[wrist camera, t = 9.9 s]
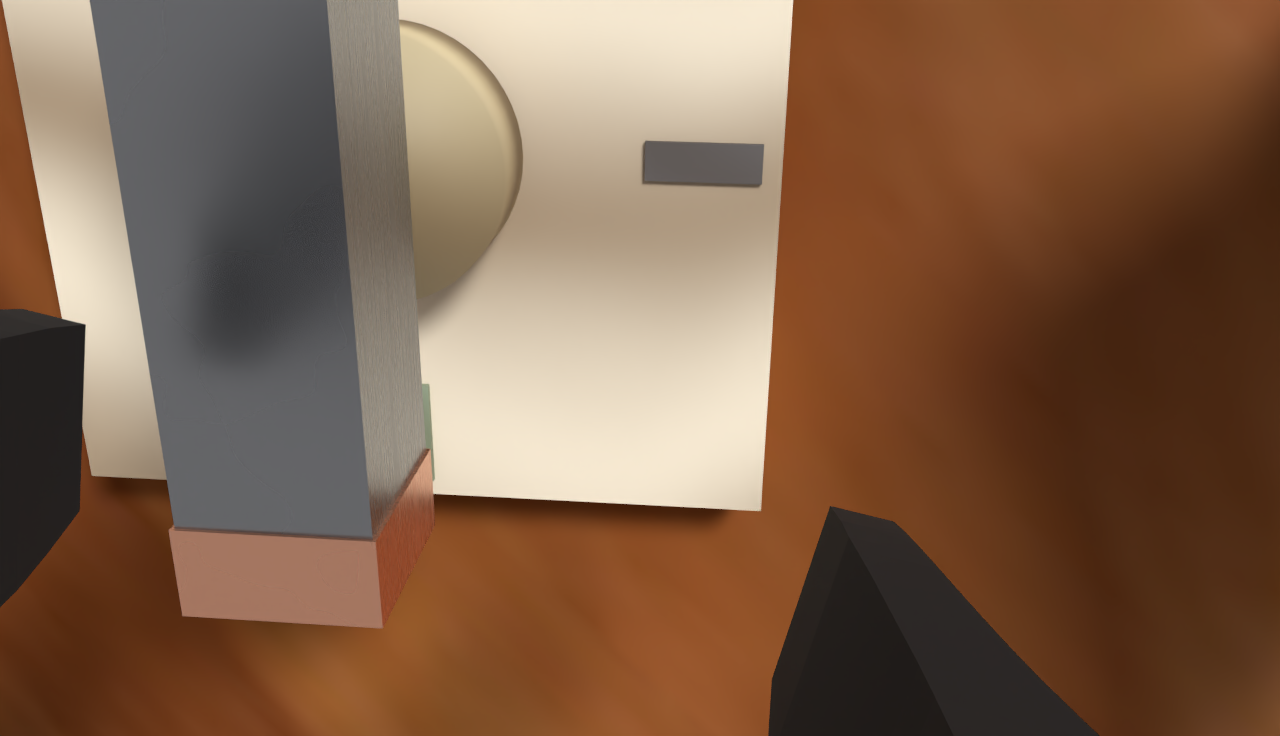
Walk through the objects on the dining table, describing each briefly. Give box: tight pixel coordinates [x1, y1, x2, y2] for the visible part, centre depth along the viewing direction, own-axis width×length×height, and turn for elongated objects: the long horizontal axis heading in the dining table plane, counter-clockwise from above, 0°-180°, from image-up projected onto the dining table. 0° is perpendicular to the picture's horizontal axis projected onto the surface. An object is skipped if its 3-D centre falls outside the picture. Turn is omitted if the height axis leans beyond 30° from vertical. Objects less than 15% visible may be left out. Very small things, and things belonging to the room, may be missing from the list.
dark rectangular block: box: [90, 0, 435, 628], centre depth 14 cm, size 2×9×4 cm, turn 179°
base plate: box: [2, 0, 793, 511], centre depth 17 cm, size 12×12×3 cm
